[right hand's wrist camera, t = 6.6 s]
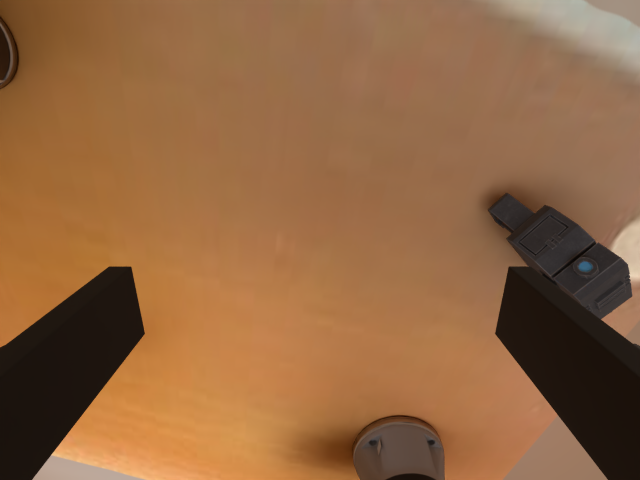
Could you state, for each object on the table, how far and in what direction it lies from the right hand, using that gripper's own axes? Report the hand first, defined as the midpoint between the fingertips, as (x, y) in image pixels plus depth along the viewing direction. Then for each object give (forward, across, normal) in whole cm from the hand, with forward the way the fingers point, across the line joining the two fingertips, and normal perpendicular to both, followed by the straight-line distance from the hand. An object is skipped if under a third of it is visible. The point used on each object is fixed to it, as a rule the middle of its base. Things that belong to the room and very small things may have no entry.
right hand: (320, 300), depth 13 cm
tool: (+34, -29, +11) cm, 46 cm away
